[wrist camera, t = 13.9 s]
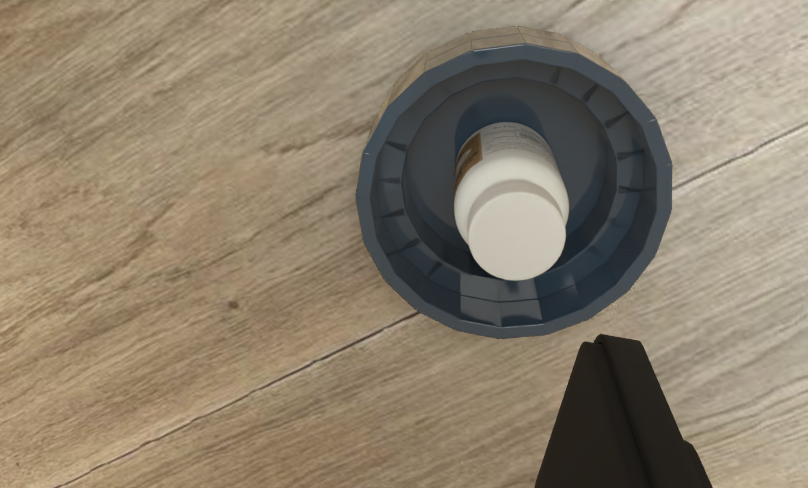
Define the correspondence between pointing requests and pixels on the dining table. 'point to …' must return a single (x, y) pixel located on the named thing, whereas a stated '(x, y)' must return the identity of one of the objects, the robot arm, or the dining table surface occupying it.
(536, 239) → the pill bottle
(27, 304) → the dining table surface
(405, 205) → the bowl
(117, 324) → the dining table surface
